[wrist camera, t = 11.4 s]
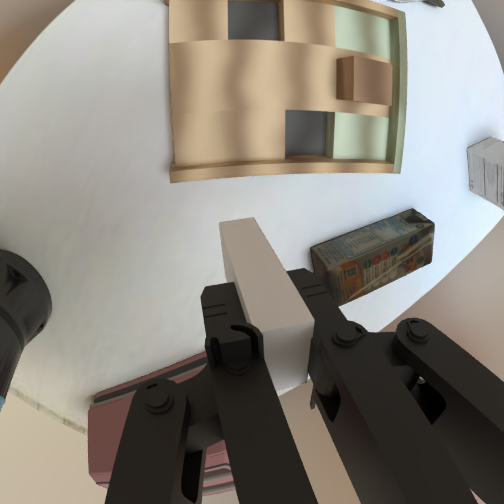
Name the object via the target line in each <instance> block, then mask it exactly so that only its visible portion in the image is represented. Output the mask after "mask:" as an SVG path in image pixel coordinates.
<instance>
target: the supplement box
mask: <svg viewBox="0 0 504 504" xmlns="http://www.w3.org/2000/svg"><path fill="white" fill-rule="evenodd" d="M467 154H468V165H469V178H470V191H471V192H473V193H475V194H477V195H479V196H481V197H482V198H484V199H486V200H488V201H489V202H491V203H493V204H495V205H496V206H498V207H500V208H501V209H503V210H504V141H501V140H499V139H496V138H493V137H490V138H488V139H486V140H484V141H481V142H479V143H477V144H475V145H473V146H471V147H469V148H467Z"/></svg>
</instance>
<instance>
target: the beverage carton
mask: <svg viewBox="0 0 504 504" xmlns="http://www.w3.org/2000/svg"><path fill="white" fill-rule="evenodd" d="M434 230H435V224H434V222H432V221H431V220H429V219H427V218H426V217H425V216H424V215H422V214H421V213H420V212H417V211H416V210H415V209H410V210H407V211H405V212H402V213H400V214H397V215H395V216H392V217H389V218H386V219H384V220H382V221H379V222H377V223H374V224H371V225H369V226H366V227H364V228H361V229H358V230H356V231H354V232H351V233H348V234H346V235H343V236H341V237H338V238H336V239H333V240H330V241H328V242H325V243H322V244H320V245H317V246H315V247H311V255H312V260H313V266H314V272H315V275H316V276H317V278H318V279H319V281H320V282H321V283H322V286H324V288H325V289H326V290H327V293H329V295H330V296H331V298H332V299H333V300H334V302H335V303H336V305H337V306H338V307H339V306H341V305H344V304H346V303H348V302H351V301H353V300H355V299H357V298H359V297H361V296H364V295H366V294H368V293H370V292H372V291H374V290H376V289H379V288H381V287H383V286H385V285H386V284H389V283H391V282H393V281H395V280H397V279H399V278H401V277H403V276H406V275H407V274H409V273H411V272H413V271H415V270H417V269H419V268H421V267H424V266H425V265H427V264H430V263H431V262H432V253H433V241H434Z"/></svg>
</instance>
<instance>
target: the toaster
mask: <svg viewBox="0 0 504 504" xmlns="http://www.w3.org/2000/svg"><path fill="white" fill-rule="evenodd" d="M207 361H208V358H207V354H206V352H203V353H200V354H198V355H195V356H193V357H191V358H188V359H186V360H183V361H181V362H179V363H176V364H174V365H171V366H169V367H166V368H164V369H161V370H159V371H156V372H154V373H151V374H148V375H146V376H143V377H141V378H138V379H135V380H133V381H130V382H127V383H124V384H122V385H119V386H116V387H113V388H110V389H108V390H105V391H102V392H99V393H97V394H96V395H95V399H94V404H92V405H90V409H89V411H88V464H89V474H90V476H91V477H92V478H93V480H94V481H95V482H96V484H98V485H100V486H103V487H105V488H108V486H109V482H110V478H111V474H112V470H113V466H114V462H115V458H116V454H117V450H118V446H119V443H120V439H121V435H122V432H123V428H124V425H125V421H126V418H127V415H128V411H129V408H130V404H131V401H132V398H133V396H134V394H135V392H136V390H137V389H138V388H139V387H140V386H142V385H143V384H144V383H146V382H148V381H151V380H153V379H163V378H165V379H169V380H173V381H175V382H176V383H180V382H183V381H185V380H187V379H189V378H191V377H193V376H195V375H197V374H198V373H199V372H200V371H201V370H202V369H203V368H204V367H205V365H206V364H207ZM231 490H236V488H235V484H234V480H233V476H232V472H231V468H230V464H229V459H228V455H227V450H226V446H225V441H224V440H222V441H220V442H218V443H216V444H214V445H211V446H209V447H207V452H206V462H205V471H204V481H203V492H202V496H205V495H211V494H217V493H222V492H226V491H231Z"/></svg>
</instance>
